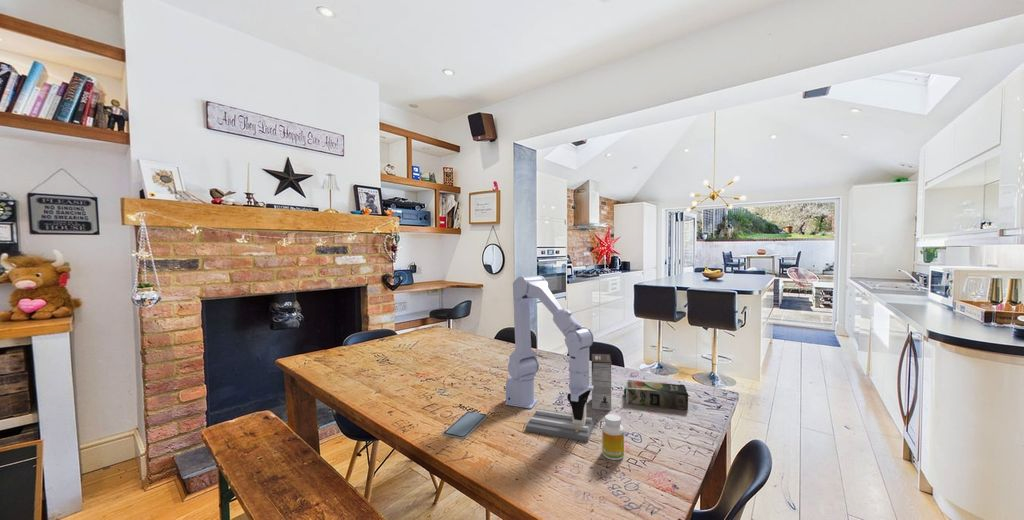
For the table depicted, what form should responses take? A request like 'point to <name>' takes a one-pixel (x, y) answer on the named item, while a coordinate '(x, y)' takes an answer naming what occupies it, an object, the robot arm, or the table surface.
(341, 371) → the table surface
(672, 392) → the juice carton
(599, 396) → the coffee box
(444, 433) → the smartphone
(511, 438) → the table surface
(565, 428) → the grey slider track
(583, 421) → the fader tab
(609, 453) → the supplement bottle
